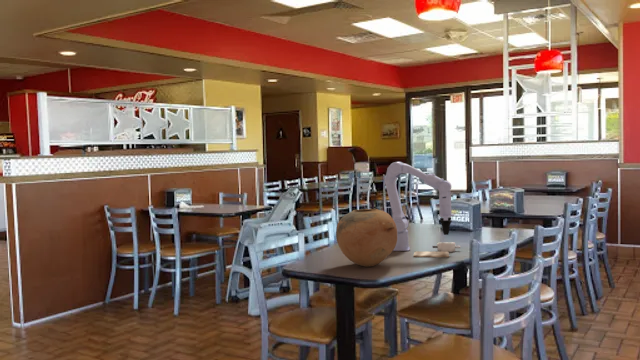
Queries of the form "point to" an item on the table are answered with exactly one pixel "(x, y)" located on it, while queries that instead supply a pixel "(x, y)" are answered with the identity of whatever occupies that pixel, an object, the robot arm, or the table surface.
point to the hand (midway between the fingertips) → (446, 233)
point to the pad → (430, 254)
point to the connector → (446, 246)
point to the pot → (366, 236)
